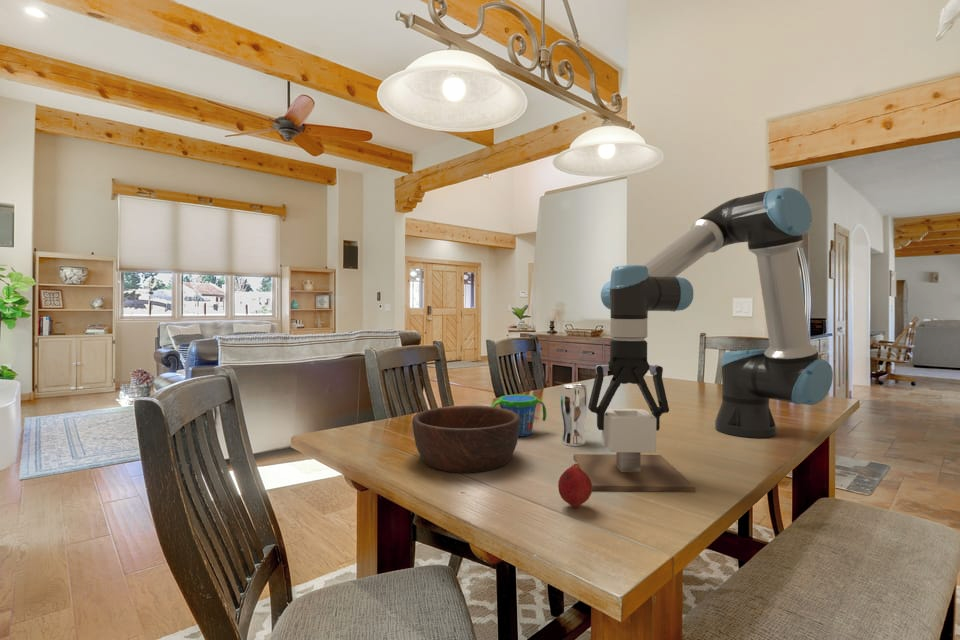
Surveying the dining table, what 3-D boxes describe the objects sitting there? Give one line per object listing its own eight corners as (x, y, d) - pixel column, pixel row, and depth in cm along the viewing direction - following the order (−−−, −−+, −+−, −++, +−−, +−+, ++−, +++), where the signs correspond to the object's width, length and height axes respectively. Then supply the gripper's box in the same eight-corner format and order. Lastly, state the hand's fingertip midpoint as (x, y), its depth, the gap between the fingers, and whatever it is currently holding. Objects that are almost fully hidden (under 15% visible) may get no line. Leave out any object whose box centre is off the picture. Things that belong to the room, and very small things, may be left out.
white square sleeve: (642, 440, 108) (643, 409, 108) (656, 452, 99) (656, 418, 99) (601, 440, 108) (602, 408, 108) (611, 452, 99) (611, 417, 99)
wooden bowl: (468, 487, 96) (467, 435, 96) (390, 461, 113) (389, 417, 113) (541, 458, 115) (541, 414, 115) (465, 439, 132) (465, 401, 131)
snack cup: (490, 439, 131) (490, 401, 131) (490, 429, 142) (490, 394, 142) (548, 438, 131) (548, 401, 131) (544, 429, 142) (544, 394, 141)
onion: (570, 516, 82) (570, 469, 82) (552, 504, 88) (552, 460, 88) (598, 510, 85) (598, 465, 85) (579, 499, 90) (579, 456, 90)
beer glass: (585, 439, 130) (585, 383, 130) (589, 447, 123) (589, 387, 123) (559, 439, 131) (559, 383, 130) (561, 446, 124) (561, 387, 123)
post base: (660, 459, 113) (660, 411, 113) (694, 491, 93) (695, 434, 93) (573, 458, 114) (573, 411, 114) (589, 490, 94) (589, 433, 94)
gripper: (674, 338, 106) (673, 441, 107) (574, 338, 107) (573, 440, 108) (687, 340, 99) (686, 451, 99) (579, 340, 100) (579, 449, 100)
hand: (627, 445), depth 104 cm, fingers closed on white square sleeve, 9 cm apart
